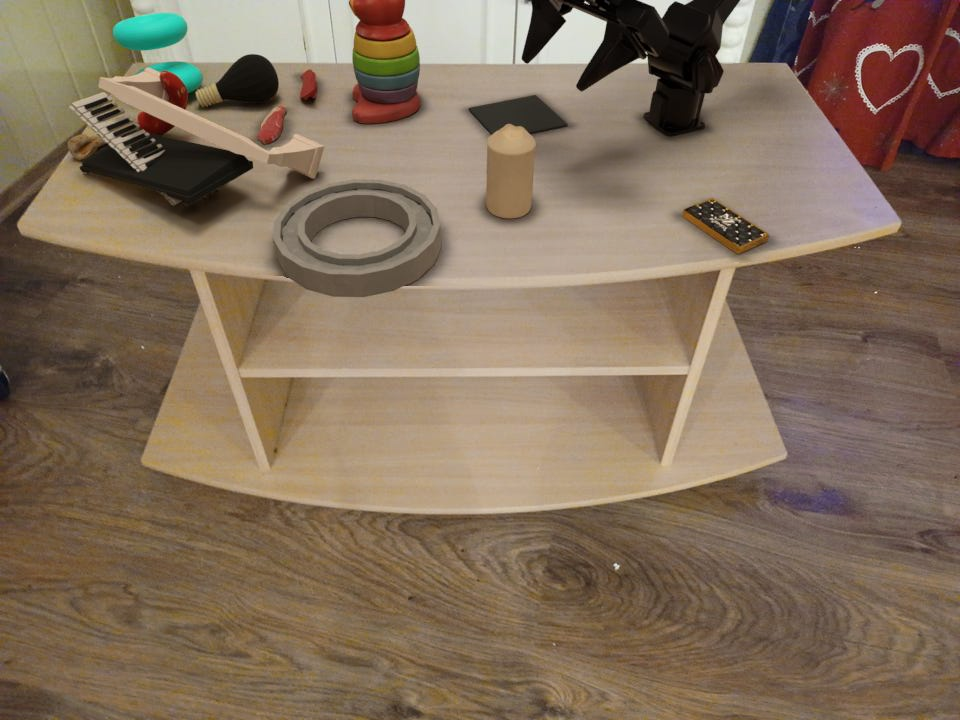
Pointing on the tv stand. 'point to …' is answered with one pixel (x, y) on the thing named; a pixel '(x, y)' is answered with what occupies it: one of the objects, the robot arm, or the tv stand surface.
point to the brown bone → (89, 143)
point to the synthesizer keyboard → (156, 156)
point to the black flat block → (725, 225)
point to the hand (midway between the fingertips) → (550, 75)
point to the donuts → (158, 42)
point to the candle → (510, 172)
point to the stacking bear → (384, 62)
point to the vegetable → (176, 97)
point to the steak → (272, 125)
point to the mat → (518, 115)
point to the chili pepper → (309, 85)
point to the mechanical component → (357, 270)
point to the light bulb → (243, 83)
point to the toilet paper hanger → (209, 124)
